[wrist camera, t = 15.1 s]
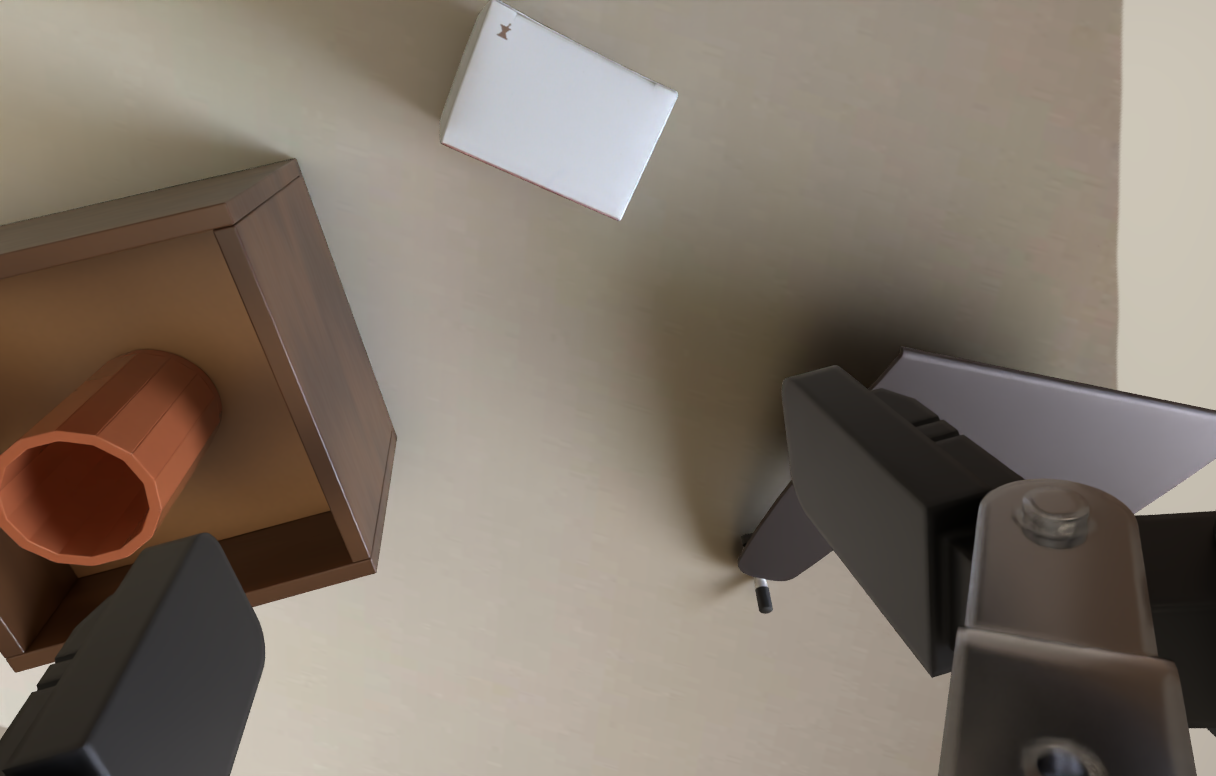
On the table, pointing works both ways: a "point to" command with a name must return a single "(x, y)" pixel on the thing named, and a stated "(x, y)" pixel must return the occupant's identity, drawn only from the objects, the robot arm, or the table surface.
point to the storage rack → (233, 360)
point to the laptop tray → (1015, 445)
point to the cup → (109, 459)
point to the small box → (553, 111)
